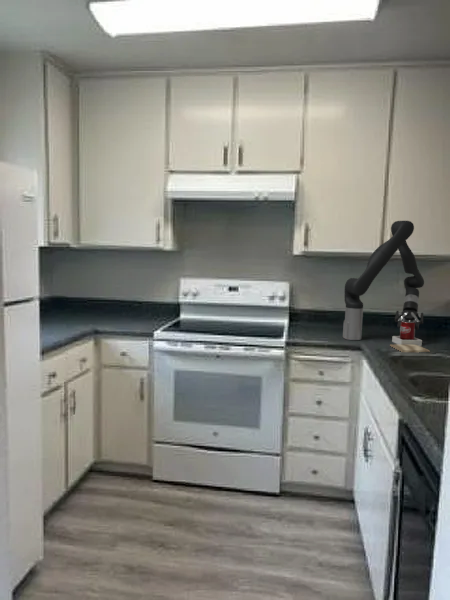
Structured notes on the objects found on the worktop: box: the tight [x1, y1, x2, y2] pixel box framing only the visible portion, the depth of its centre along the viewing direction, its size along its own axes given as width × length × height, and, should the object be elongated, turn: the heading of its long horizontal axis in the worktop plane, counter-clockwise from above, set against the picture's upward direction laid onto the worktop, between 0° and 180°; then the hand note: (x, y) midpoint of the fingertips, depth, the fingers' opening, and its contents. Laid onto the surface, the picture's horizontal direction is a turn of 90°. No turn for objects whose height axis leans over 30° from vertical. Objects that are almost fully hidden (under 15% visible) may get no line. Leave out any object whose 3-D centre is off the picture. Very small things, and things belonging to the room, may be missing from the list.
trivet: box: [389, 343, 431, 353], centre depth 245 cm, size 14×14×1 cm
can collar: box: [391, 335, 423, 347], centre depth 259 cm, size 11×11×3 cm
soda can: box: [399, 320, 416, 340], centre depth 259 cm, size 7×7×12 cm
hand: (407, 328), depth 260 cm, fingers open, 8 cm apart
